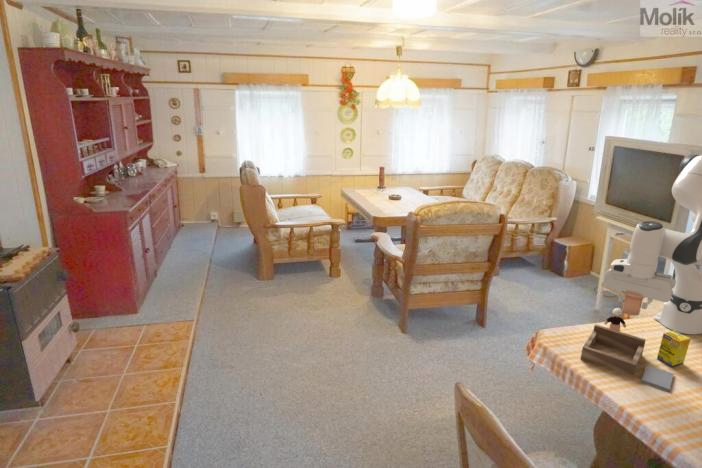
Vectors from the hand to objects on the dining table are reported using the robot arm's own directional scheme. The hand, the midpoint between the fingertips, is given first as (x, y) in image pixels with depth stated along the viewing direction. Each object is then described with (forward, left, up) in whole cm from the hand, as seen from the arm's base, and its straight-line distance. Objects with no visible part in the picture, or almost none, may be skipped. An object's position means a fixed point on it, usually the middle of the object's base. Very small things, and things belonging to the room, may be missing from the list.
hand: (632, 305), depth 158 cm
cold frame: (-1, -3, -23) cm, 23 cm away
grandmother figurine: (-17, -6, -23) cm, 29 cm away
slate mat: (+3, +12, -23) cm, 26 cm away
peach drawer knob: (0, 0, -3) cm, 3 cm away
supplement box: (-12, +14, -23) cm, 30 cm away
